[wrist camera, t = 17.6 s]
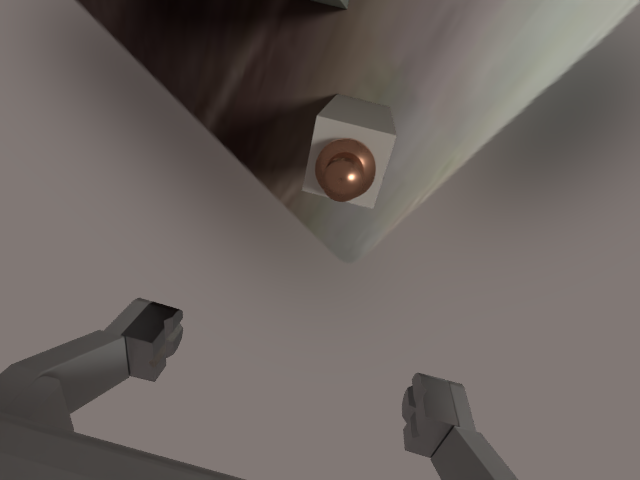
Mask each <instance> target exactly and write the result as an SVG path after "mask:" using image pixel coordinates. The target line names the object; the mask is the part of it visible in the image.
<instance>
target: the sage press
mask: <svg viewBox="0 0 640 480" xmlns="http://www.w3.org/2000/svg"><path fill="white" fill-rule="evenodd" d="M311 1H315V2H319V3H323V4H328V5H332V6H336V7H340V8H344V9H347V7H348V2H349V0H311Z"/></svg>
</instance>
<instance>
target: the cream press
mask: <svg viewBox="0 0 640 480" xmlns="http://www.w3.org/2000/svg"><path fill="white" fill-rule="evenodd" d="M396 137H397V134H396V130H395V125H394V121H393V117H392V112H391V108H390V107H388V106H384V105H380V104H376V103H372V102H368V101H364V100H360V99H356V98H352V97H348V96H344V95H340V94H337V95H336V96H335V97H334V98H333V99H332V100H331V101H330V102H329V103H328V104H327V105H326V106H325V107H324V108H323V110H322V111H321V112H320V113H319V114H318V115H317V117H316V122H315V128H314V133H313V138H312V143H311V148H310V153H309V158H308V163H307V168H306V173H305V178H304V184H303V189H302V191H306V192H310V193H313V194H317V195H321V196H325V197H328V196H327V195H326V193H325V192H324V190H323V189H322V188H321V186H320V185H319V183H318V181H317V179H316V175H315V164H316V160H317V158H318V155H319V154H320V152H321V150H322V149H323V148H324V147H325V146H326V145H327V144H328V143H330V142H331V141H333V140H336V139H340V138H352V139H356V140H358V141H360V142H362V143H364V144H365V145H366V146H367V147H368V148H369V149H370V151H371V152H372V154H373V156H374V159H375V163H376V174H375V178H374V181H373V183H372V185H371V186H370V188H369V189H368V190H367V191H366V192H365V193H364V194H362V195H360V196H358V197H356V198H354V199H352V200H350V201H346V202H348V203H352V204H356V205H360V206H364V207H368V208H372V209H373V208H374V205H375V202H376V199H377V196H378V193H379V190H380V186H381V183H382V180H383V177H384V174H385V171H386V168H387V165H388V162H389V158H390V155H391V152H392V149H393V146H394V143H395V140H396ZM329 198H330V197H329Z"/></svg>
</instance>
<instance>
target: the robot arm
mask: <svg viewBox="0 0 640 480" xmlns="http://www.w3.org/2000/svg"><path fill="white" fill-rule="evenodd" d="M182 318H183V312H182V310H179V309H176V308H173V307H170V306H166V305H163V304H159V303H156V302H152V301H149V300H145V299H141V298H137V299H135V300H134V301H133V302H132V303H131V304H130V305H129V306H128V307H127V308H126V309H125V310H124V311H123V312H122V313H121V314H120V315H119V316H118V317H117V318H116V319H115V320H114V321H113V322H112V323H111V324H110V325H109V326H108V327H107V328H106V329H105V330H104V331H101V330H98V331H95V332H93V333H90V334H88V335H85V336H83V337H80V338H77V339H75V340H72V341H70V342H68V343H65V344H62V345H60V346H57V347H55V348H52V349H50V350H47V351H45V352H42V353H39V354H37V355H34V356H32V357H29V358H27V359H24V360H22V361H19V362H16V363H14V364H11V365H10V366H9V367H8V368H7V369H6V370H4V371H3V372H2V373H1V374H0V480H245V479H241V478H238V477H234V476H230V475H227V474H223V473H219V472H216V471H212V470H209V469H205V468H202V467H198V466H194V465H191V464H187V463H184V462H180V461H176V460H173V459H169V458H166V457H162V456H158V455H154V454H151V453H147V452H144V451H140V450H136V449H133V448H130V447H126V446H122V445H119V444H115V443H112V442H108V441H104V440H100V439H97V438H94V437H90V436H86V435H83V434H79V433H76V432H74V428H73V424H72V421H71V418H70V413H72V412H74V411H75V410H77V409H79V408H80V407H82V406H84V405H85V404H87V403H89V402H90V401H92V400H93V399H95V398H97V397H98V396H100V395H101V394H103V393H105V392H106V391H108V390H109V389H111V388H113V387H114V386H116V385H117V384H119V383H121V382H122V381H124V380H126V379H127V378H129V376H133V377H137V378H141V379H145V380H149V381H153V382H155V381H156V379H157V378H158V376H159V375H160V373H161V372H162V371H163V369H164V368H165V366H166V358H167V357H169V356H171V355H173V354H174V353H175V351H176V350H177V348H178V346H179V344H180V341H181V338H182V333H183V327H182V326H181V324H180V321H181V320H182ZM412 384H413V386H411V387H408V388H407V390H406V392H405V394H404V398H403V403H402V416H403V418H404V420H405V421H406V423H407V424H406V426H405V428H404V429H403V431H404V444H405V450H407V451H409V452H413V453H416V454H419V455H422V456H426V457H429V458H431V461H432V463H433V465H434V467H435V469H436V471H437V472H438V474H439V476H440V478H441V480H518V479H517V478H516V476H515V475H514V474H513V472H512V471H511V470H510V469H509V467H508V466H507V465H506V464H505V463H504V461H503V460H502V459H501V458H500V456H499V455H498V454H497V453H496V451H495V450H494V449H493V448H492V446H491V445H490V444H489V443H488V441H487V440H486V439H485V438H484V437H483V435H482V434H481V433H479V432H476V429H475V425H474V421H473V418H472V414H471V411H470V407H469V403H468V399H467V396H466V392H465V388H464V386H463V385H462V384H459V383H455V382H452V381H448V380H444V379H441V378H437V377H433V376H428V375H425V374H421V373H416V374H415V375H414V377H413V379H412Z"/></svg>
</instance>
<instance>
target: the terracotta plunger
mask: <svg viewBox="0 0 640 480" xmlns="http://www.w3.org/2000/svg"><path fill="white" fill-rule="evenodd" d="M375 174H376V163H375V159H374V156H373V154H372V152H371V151H370V149H369V148H368V147H367V146H366V145H365V144H364V143H362V142H360V141H358V140H356V139H352V138H340V139H336V140H333V141H331V142H330V143H328V144H327V145H326V146H325V147H324V148H323V149H322V150H321V152H320V154H319V155H318V158H317V160H316V164H315V175H316V179H317V181H318V183H319V185H320V186H321V188H322V189H323V190H324V192H325V193H326V195H327V196H328V197H330V198H331V199H333V200H335V201H339V202H346V201H350V200H352V199H354V198H356V197H358V196H360V195H362V194H364V193H365V192H366V191H367V190H368V189H369V188H370V186H371V185H372V183H373V181H374V178H375Z"/></svg>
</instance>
